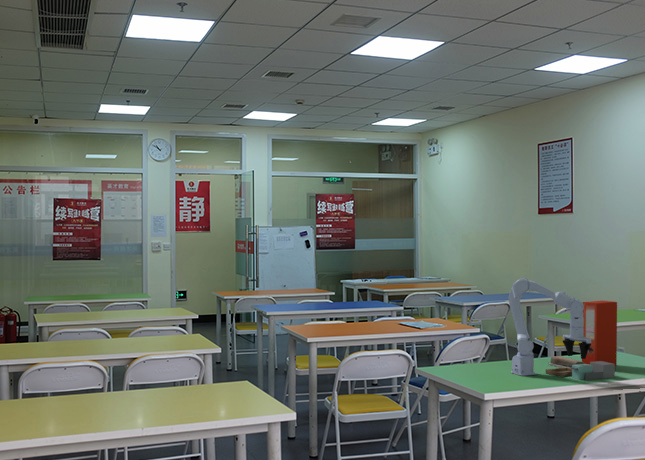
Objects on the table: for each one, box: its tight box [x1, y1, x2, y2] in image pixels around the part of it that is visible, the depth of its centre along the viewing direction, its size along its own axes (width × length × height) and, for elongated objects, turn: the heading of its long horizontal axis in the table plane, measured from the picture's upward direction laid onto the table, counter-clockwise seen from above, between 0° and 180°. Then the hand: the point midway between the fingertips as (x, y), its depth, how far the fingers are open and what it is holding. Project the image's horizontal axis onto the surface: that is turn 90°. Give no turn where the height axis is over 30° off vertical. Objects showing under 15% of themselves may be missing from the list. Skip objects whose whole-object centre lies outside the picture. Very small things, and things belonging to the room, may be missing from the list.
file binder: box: [581, 300, 618, 367], centre depth 318 cm, size 8×17×32 cm, turn 124°
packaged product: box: [547, 355, 585, 368], centre depth 314 cm, size 18×5×10 cm
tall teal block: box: [571, 364, 592, 381], centre depth 289 cm, size 9×4×6 cm, turn 114°
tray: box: [545, 367, 572, 378], centre depth 298 cm, size 13×8×2 cm, turn 114°
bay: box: [584, 361, 616, 381], centre depth 292 cm, size 17×8×6 cm, turn 114°
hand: (576, 357), depth 289 cm, fingers open, 7 cm apart
